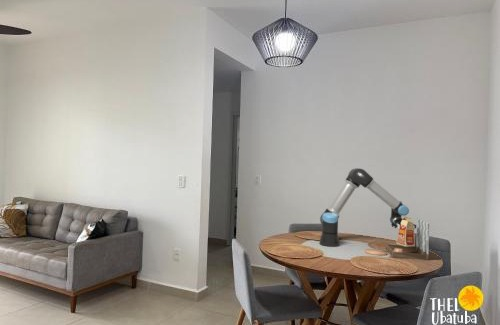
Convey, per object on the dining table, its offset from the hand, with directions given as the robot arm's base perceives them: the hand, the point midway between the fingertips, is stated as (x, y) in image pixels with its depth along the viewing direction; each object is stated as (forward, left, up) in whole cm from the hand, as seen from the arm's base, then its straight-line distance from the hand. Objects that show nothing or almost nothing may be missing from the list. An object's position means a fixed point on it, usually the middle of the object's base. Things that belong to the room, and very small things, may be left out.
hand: (406, 227), depth 240 cm
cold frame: (-1, 0, -19) cm, 19 cm away
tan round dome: (+1, -20, -19) cm, 27 cm away
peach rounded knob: (+7, -7, -19) cm, 21 cm away
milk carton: (-1, 0, -12) cm, 12 cm away
